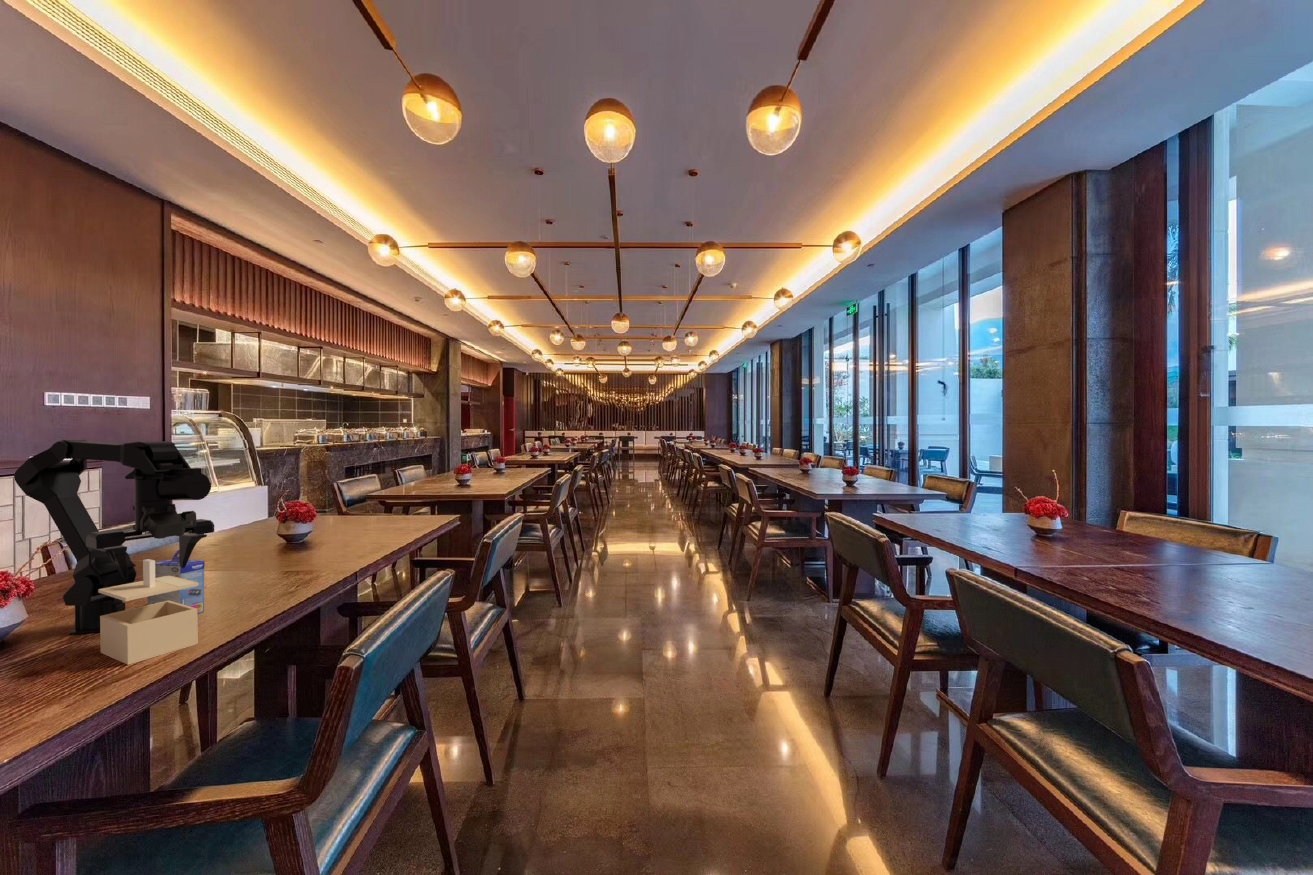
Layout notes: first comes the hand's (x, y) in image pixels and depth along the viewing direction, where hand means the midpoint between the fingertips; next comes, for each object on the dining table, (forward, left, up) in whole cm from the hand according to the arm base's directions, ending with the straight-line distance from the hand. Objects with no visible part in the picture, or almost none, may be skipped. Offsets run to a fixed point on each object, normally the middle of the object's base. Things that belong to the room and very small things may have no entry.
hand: (155, 573), depth 107 cm
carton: (+5, -12, -12) cm, 18 cm away
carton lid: (+5, -12, 0) cm, 13 cm away
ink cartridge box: (-1, +10, -12) cm, 16 cm away
